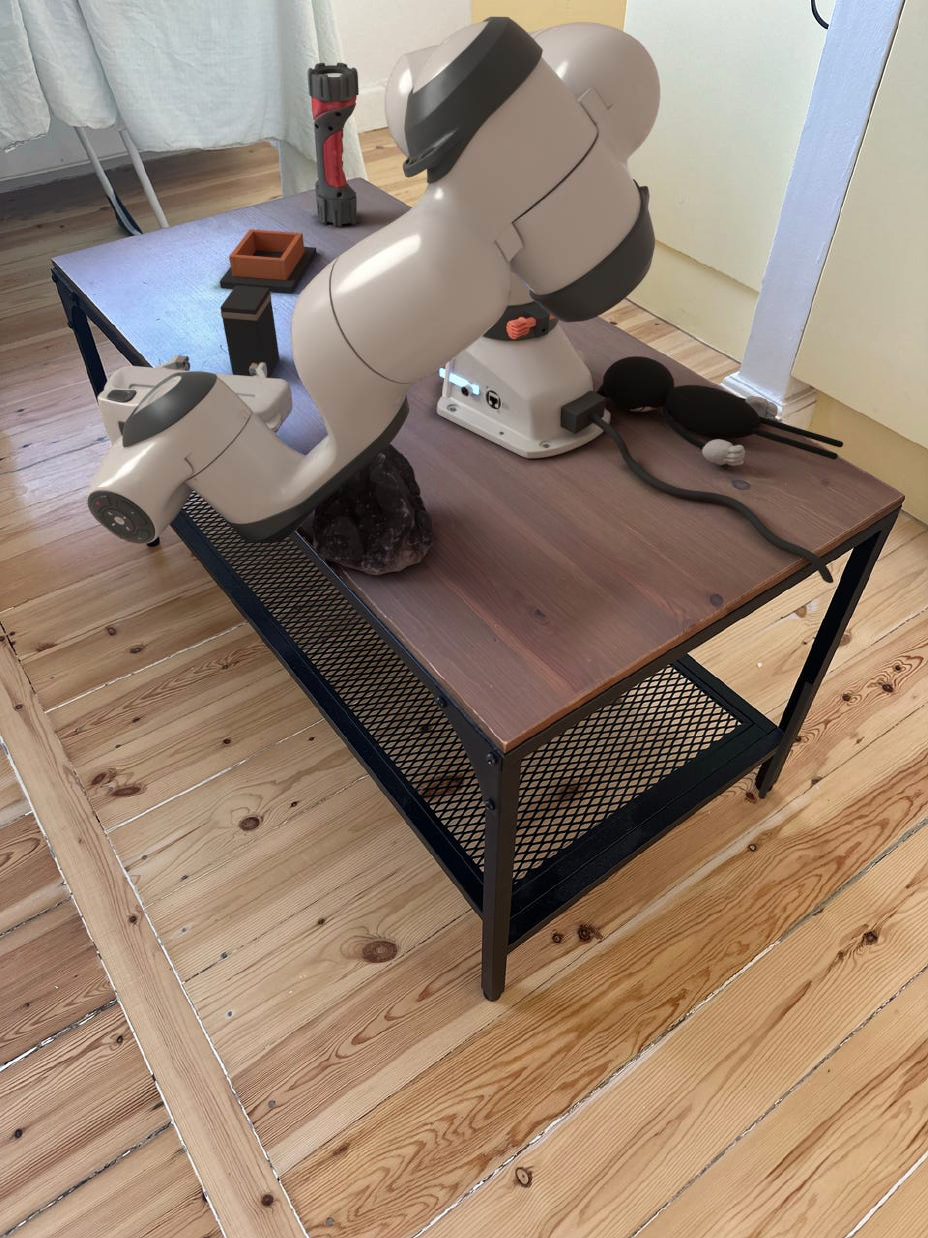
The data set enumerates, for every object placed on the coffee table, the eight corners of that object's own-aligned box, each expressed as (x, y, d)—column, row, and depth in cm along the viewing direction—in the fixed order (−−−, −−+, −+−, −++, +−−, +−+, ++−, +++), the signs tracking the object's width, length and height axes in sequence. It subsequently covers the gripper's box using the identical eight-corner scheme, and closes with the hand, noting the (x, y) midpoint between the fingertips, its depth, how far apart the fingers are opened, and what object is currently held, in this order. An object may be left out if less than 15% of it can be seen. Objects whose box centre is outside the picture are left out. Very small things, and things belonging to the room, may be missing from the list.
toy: (854, 437, 110) (626, 368, 122) (866, 392, 103) (622, 323, 115) (809, 524, 106) (578, 443, 118) (818, 483, 99) (571, 402, 111)
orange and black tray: (316, 253, 146) (314, 228, 144) (292, 293, 137) (288, 267, 134) (249, 248, 147) (245, 223, 145) (220, 287, 138) (215, 261, 135)
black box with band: (280, 359, 123) (270, 287, 116) (266, 383, 119) (255, 310, 112) (247, 356, 123) (235, 284, 116) (233, 380, 119) (219, 307, 112)
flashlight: (370, 228, 153) (361, 73, 137) (323, 232, 152) (308, 76, 136) (362, 210, 159) (352, 58, 142) (317, 214, 157) (302, 61, 141)
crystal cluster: (367, 606, 91) (373, 528, 84) (278, 536, 97) (277, 457, 90) (458, 549, 99) (471, 474, 92) (371, 487, 104) (377, 412, 97)
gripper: (269, 412, 96) (304, 346, 106) (82, 394, 98) (134, 332, 108) (277, 462, 101) (310, 395, 110) (98, 445, 102) (146, 380, 112)
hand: (222, 364), depth 109 cm, fingers open, 8 cm apart
